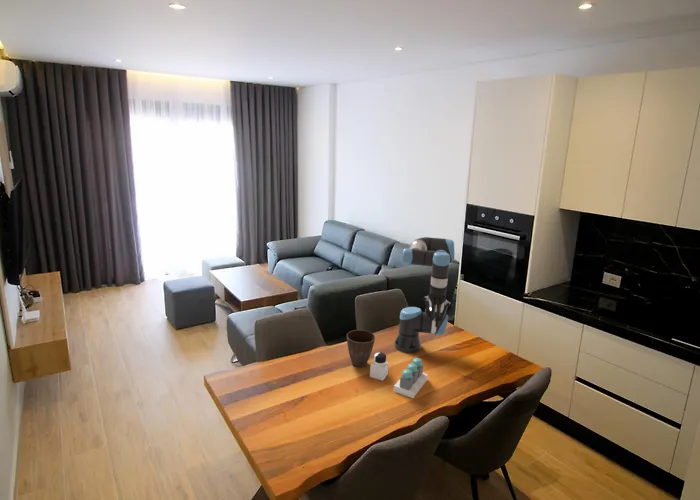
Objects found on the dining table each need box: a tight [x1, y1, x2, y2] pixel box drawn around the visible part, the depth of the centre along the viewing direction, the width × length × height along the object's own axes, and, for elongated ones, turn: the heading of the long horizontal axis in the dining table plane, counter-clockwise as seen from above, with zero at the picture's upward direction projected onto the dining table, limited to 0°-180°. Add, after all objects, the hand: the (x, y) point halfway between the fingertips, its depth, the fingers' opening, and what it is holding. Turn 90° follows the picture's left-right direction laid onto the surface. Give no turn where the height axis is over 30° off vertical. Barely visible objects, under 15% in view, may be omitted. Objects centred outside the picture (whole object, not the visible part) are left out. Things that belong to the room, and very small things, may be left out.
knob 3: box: [412, 357, 423, 367], centre depth 215 cm, size 5×5×8 cm
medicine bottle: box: [369, 352, 389, 382], centre depth 217 cm, size 7×7×12 cm
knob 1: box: [401, 368, 412, 379], centre depth 204 cm, size 5×5×8 cm
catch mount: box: [393, 363, 429, 399], centre depth 210 cm, size 10×19×8 cm, turn 150°
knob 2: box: [407, 362, 418, 373], centre depth 209 cm, size 5×5×8 cm
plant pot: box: [346, 329, 376, 368], centre depth 227 cm, size 15×15×16 cm
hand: (433, 332), depth 205 cm, fingers closed
